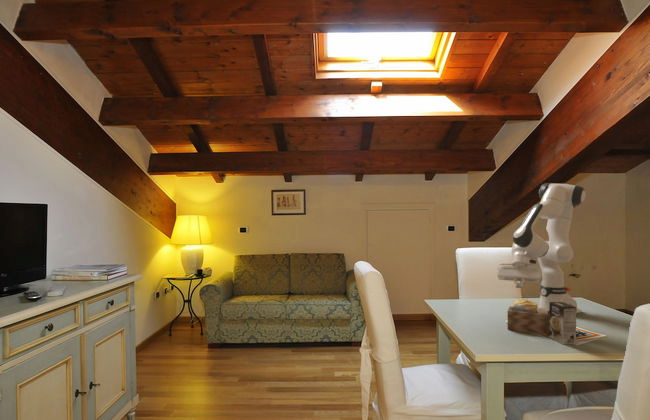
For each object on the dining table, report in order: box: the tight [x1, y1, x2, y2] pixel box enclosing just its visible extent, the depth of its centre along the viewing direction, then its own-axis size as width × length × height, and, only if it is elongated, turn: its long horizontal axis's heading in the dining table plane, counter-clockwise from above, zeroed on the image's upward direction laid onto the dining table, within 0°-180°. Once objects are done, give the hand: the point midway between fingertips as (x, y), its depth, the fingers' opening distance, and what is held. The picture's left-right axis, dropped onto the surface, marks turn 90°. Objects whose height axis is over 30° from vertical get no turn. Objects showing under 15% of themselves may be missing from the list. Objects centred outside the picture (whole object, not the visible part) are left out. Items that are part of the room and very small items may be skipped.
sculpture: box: [511, 298, 539, 309], centre depth 206 cm, size 11×12×11 cm
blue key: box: [513, 305, 524, 312], centre depth 191 cm, size 4×4×4 cm
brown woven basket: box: [507, 305, 550, 336], centre depth 188 cm, size 19×10×9 cm, turn 59°
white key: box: [537, 306, 548, 314], centre depth 186 cm, size 4×4×4 cm
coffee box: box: [549, 302, 577, 345], centre depth 172 cm, size 9×6×16 cm
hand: (519, 287), depth 192 cm, fingers closed
